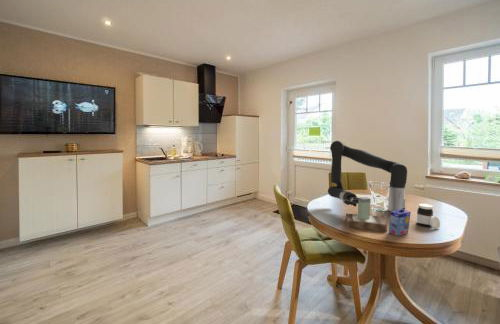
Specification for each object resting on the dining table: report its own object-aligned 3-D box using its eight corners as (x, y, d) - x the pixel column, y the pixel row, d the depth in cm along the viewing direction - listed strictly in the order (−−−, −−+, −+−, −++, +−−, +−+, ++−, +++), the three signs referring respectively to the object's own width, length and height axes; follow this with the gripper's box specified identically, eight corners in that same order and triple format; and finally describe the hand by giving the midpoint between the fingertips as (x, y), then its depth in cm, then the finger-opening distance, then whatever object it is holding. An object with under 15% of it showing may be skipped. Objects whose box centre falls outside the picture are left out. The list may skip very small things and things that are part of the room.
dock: (381, 222, 151) (381, 215, 151) (386, 231, 138) (387, 224, 138) (345, 219, 157) (346, 212, 156) (347, 227, 144) (348, 220, 143)
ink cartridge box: (398, 236, 132) (400, 209, 130) (388, 232, 137) (389, 207, 135) (409, 233, 136) (411, 207, 134) (399, 229, 141) (401, 204, 139)
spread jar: (417, 220, 154) (418, 202, 153) (440, 224, 147) (442, 205, 146) (414, 226, 145) (416, 207, 144) (439, 231, 138) (441, 210, 137)
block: (365, 216, 150) (366, 197, 148) (369, 218, 146) (370, 198, 144) (357, 217, 149) (358, 197, 147) (361, 219, 145) (362, 199, 143)
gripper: (337, 192, 162) (351, 198, 146) (358, 191, 164) (374, 197, 148) (337, 203, 163) (351, 211, 147) (357, 202, 165) (373, 210, 149)
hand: (362, 204), depth 148 cm, fingers open, 8 cm apart
